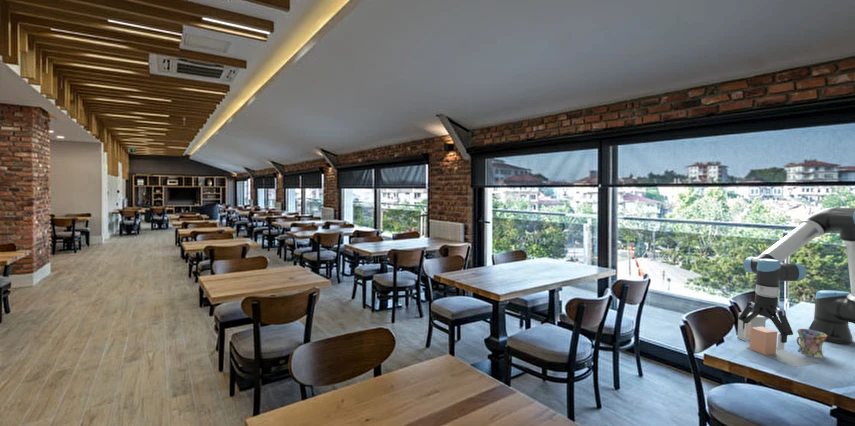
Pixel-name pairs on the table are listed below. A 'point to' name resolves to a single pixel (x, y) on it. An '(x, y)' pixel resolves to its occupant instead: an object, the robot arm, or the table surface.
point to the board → (790, 358)
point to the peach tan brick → (763, 340)
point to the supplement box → (756, 322)
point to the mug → (811, 342)
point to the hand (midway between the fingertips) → (763, 343)
